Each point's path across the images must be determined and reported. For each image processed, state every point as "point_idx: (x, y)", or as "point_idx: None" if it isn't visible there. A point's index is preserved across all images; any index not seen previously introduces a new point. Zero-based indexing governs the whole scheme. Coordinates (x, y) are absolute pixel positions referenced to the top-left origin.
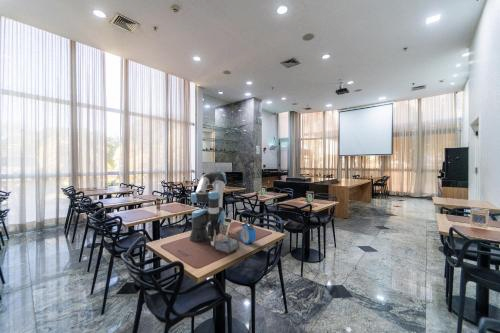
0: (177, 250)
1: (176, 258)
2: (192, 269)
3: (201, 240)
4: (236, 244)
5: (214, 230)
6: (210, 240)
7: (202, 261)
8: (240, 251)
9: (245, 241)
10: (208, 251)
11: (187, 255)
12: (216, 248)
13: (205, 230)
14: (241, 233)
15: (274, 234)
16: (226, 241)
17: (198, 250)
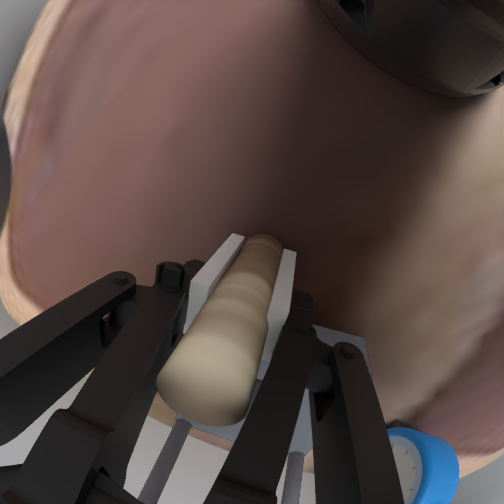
0: (94, 9)
1: (18, 110)
2: (3, 264)
3: (353, 40)
4: None
5: (192, 408)
6: (187, 262)
7: (43, 276)
8: None
9: None
10: (142, 251)
11: (48, 136)
12: None
13: (483, 33)
14: (416, 465)
15: (476, 464)
16: None
17: (126, 150)
